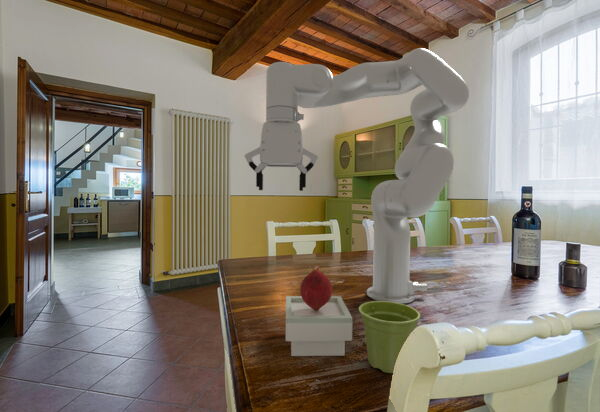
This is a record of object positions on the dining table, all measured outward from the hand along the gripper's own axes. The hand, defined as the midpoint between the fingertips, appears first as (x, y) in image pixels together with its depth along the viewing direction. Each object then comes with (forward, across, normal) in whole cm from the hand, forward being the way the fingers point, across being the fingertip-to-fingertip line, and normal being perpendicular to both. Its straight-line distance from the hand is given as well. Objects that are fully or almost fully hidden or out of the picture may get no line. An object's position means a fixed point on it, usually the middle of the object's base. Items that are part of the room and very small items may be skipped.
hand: (281, 190), depth 72 cm
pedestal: (+28, -7, +18) cm, 34 cm away
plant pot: (+28, -18, +25) cm, 42 cm away
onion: (+22, -7, +18) cm, 30 cm away
